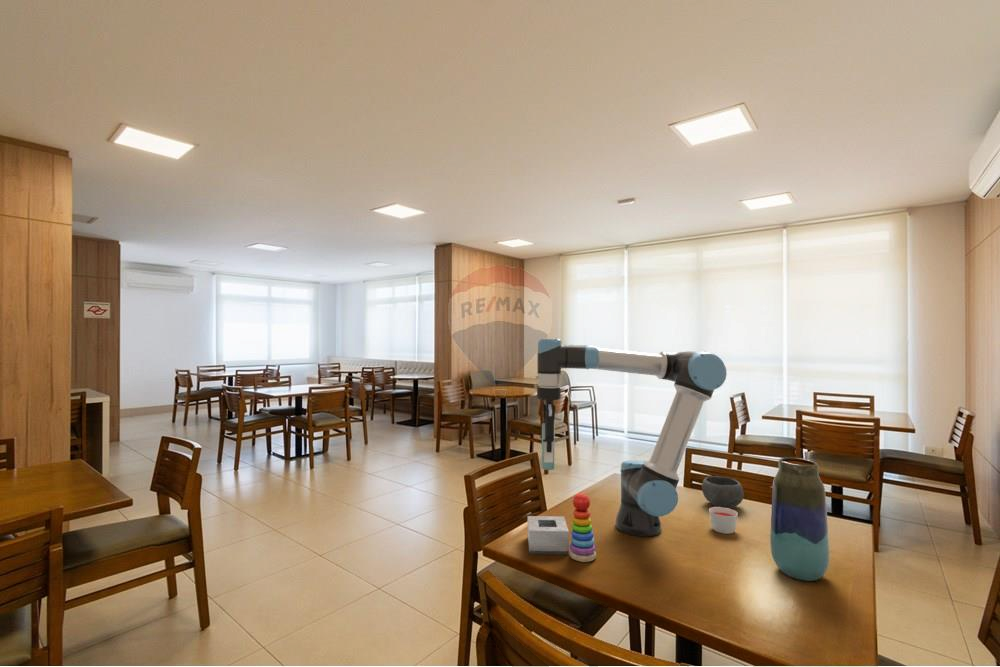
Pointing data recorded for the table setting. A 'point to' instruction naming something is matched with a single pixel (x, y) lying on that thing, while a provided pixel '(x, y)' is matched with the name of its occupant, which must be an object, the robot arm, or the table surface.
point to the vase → (799, 520)
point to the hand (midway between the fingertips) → (547, 460)
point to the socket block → (548, 535)
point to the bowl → (722, 491)
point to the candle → (723, 519)
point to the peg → (544, 464)
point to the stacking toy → (582, 531)
